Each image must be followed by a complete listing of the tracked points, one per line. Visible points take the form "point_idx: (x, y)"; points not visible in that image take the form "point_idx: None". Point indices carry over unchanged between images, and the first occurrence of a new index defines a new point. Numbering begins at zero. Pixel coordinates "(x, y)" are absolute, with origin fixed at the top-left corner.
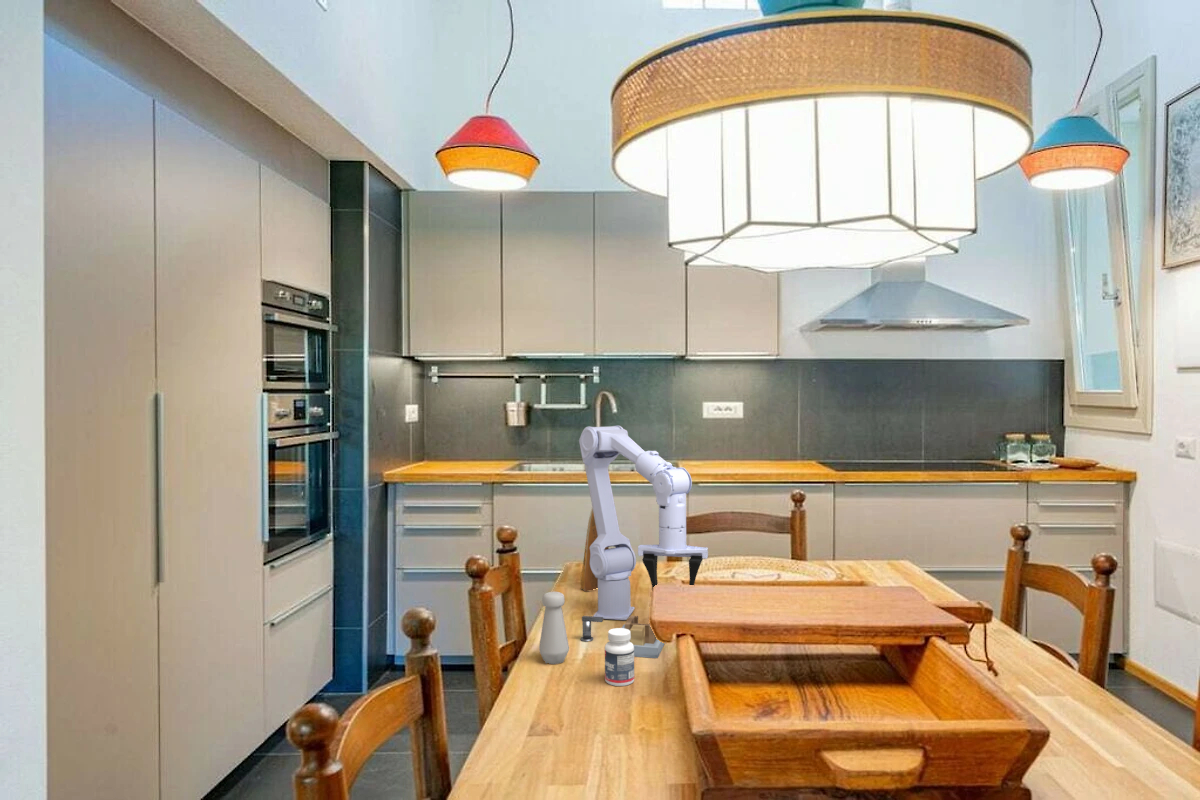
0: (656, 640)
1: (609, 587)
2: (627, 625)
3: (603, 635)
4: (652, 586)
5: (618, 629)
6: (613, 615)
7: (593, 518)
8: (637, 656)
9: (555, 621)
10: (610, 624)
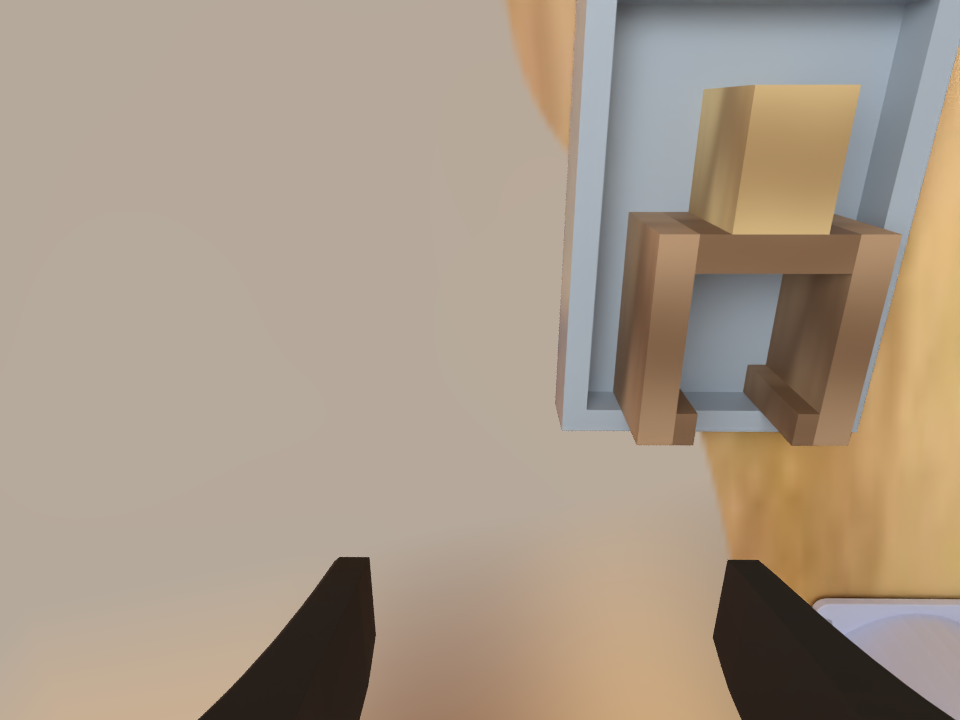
0: (617, 279)
1: None
2: (873, 231)
3: (956, 351)
4: (787, 585)
5: None
6: (901, 621)
7: None
8: None
9: None
10: (905, 534)
